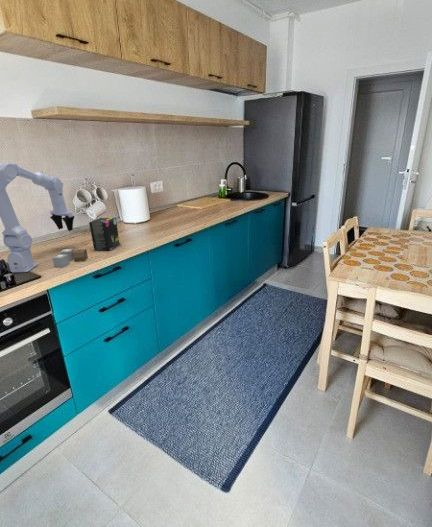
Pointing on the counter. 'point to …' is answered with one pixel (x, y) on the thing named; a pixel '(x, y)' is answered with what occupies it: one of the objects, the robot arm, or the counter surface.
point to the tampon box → (104, 234)
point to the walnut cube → (80, 255)
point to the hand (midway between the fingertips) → (65, 229)
